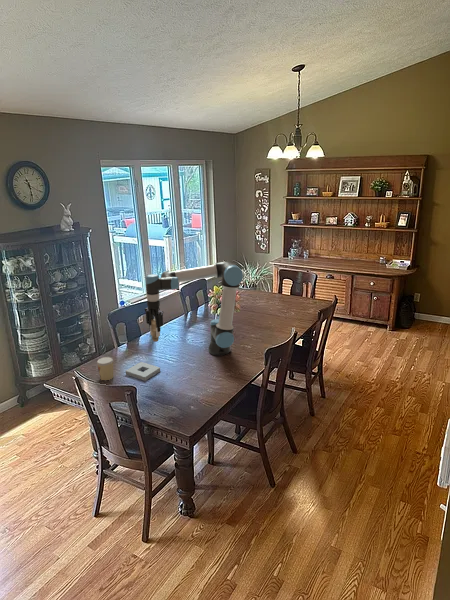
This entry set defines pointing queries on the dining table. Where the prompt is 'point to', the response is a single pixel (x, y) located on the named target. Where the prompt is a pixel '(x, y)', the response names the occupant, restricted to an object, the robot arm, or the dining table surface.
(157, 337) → the beech peg
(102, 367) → the coffee cup
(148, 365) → the board
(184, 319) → the dining table surface
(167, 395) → the dining table surface
